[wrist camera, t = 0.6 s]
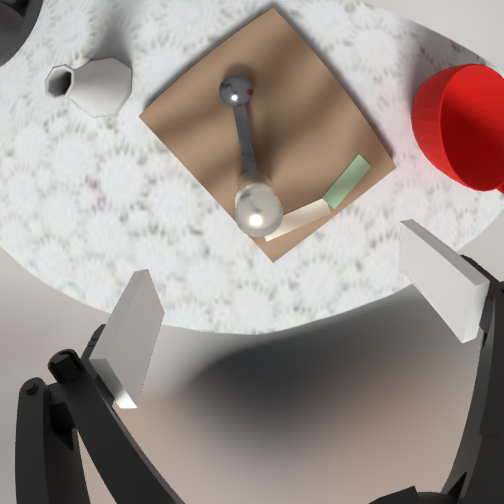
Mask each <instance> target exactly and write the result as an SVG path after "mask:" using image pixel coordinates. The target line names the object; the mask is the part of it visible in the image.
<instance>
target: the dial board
mask: <svg viewBox="0 0 504 504" xmlns="http://www.w3.org/2000/svg"><path fill="white" fill-rule="evenodd" d="M232 75H241V76H244V77H245V78H247V79H248V80H249V81H250V82H251V84H252V87H253V94H252V97H251V99H250V100H249V101H248V102H247V103H246V104H245V107H246V113H247V118H248V124H249V129H250V135H251V140H252V146H253V151H254V157H255V163H256V168H257V171H260V172H262V173H264V174H265V175H267V176H268V178H269V179H270V181H271V183H272V186H273V188H274V190H275V192H276V194H277V196H278V199H279V201H280V203H281V205H282V208H283V220H282V222H281V224H280V226H279V228H278V229H277V230H276V231H275V232H273V233H272V234H270V235H268V236H264V237H253V236H250V235H248V236H249V237H250V238H251V239H252V240H253V241H254V242H255V243H256V244H257V245H258V247H259V248H260V249H261V250H262V251H263V252H264V253H265V254H266V255H267V256H268V258H269V259H270V260H271V261H272V262H273V263H274V262H275V261H276V260H278V259H279V258H280V257H282V256H283V255H284V254H286V253H287V252H288V251H290V250H291V249H292V248H294V247H295V246H296V245H297V244H299V243H300V242H301V241H303V240H304V239H305V238H307V237H308V236H309V235H311V234H312V233H313V232H314V231H316V230H317V229H318V228H320V227H321V226H322V225H324V224H325V223H326V222H327V221H329V220H330V219H331V218H333V217H334V216H335V215H336V214H338V213H339V212H340V211H342V210H343V209H344V208H345V207H347V206H348V205H349V204H351V203H352V202H353V201H354V200H356V199H357V198H358V197H360V196H361V195H362V194H363V193H365V192H366V191H367V190H368V189H370V188H371V187H372V186H374V185H375V184H376V183H377V182H379V181H380V180H381V179H382V178H384V177H385V176H386V175H387V174H389V173H390V172H391V171H392V170H394V169H395V168H396V166H395V164H394V162H393V161H392V159H391V157H390V156H389V154H388V153H387V151H386V149H385V148H384V146H383V145H382V143H381V142H380V140H379V138H378V137H377V135H376V134H375V132H374V131H373V129H372V128H371V126H370V125H369V123H368V122H367V121H366V119H365V118H364V116H363V115H362V113H361V112H360V111H359V109H358V108H357V106H356V105H355V104H354V102H353V101H352V99H351V98H350V97H349V95H348V94H347V93H346V91H345V90H344V89H343V87H342V86H341V85H340V84H339V82H338V81H337V80H336V78H335V77H334V76H333V75H332V73H331V72H330V71H329V70H328V68H327V67H326V66H325V65H324V63H323V62H322V61H321V60H320V59H319V57H318V56H317V55H316V54H315V53H314V51H313V50H312V49H311V48H310V47H309V46H308V45H307V43H306V42H305V41H304V40H303V39H302V38H301V37H300V36H299V34H298V33H297V32H296V31H295V30H294V29H293V28H292V27H291V26H290V25H289V24H288V23H287V21H286V20H285V19H284V18H283V17H282V16H281V15H280V14H279V13H278V12H277V11H276V10H275V9H274V8H272V9H270V10H269V11H267V12H265V13H264V14H262V15H261V16H259V17H258V18H256V19H255V20H254V21H252V22H251V23H249V24H248V25H246V26H245V27H243V28H242V29H241V30H239V31H238V32H236V33H235V34H234V35H232V36H231V37H230V38H228V39H227V40H226V41H224V42H223V43H222V44H220V45H219V46H218V47H216V48H215V49H214V50H213V51H211V52H210V53H209V54H208V55H206V56H205V57H204V58H203V59H201V60H200V61H199V62H198V63H196V64H195V65H194V66H193V67H192V68H191V69H189V70H188V71H187V72H186V73H185V74H183V75H182V76H181V77H180V78H179V79H178V80H177V81H175V82H174V83H173V84H172V85H171V86H170V87H169V88H168V89H167V90H166V91H164V92H163V93H162V94H161V95H160V96H159V97H158V98H157V99H156V100H155V101H154V102H153V103H152V104H151V105H150V106H149V107H148V108H147V109H145V110H144V111H143V112H142V113H141V114H140V115H139V118H140V119H141V120H142V121H143V122H144V123H145V124H146V125H147V126H148V127H149V128H150V129H151V130H152V132H153V133H154V134H155V135H156V136H157V137H158V138H159V139H160V140H161V141H162V142H163V143H164V144H165V145H166V147H167V148H168V149H169V150H170V151H171V152H172V153H173V154H174V155H175V156H176V157H177V158H178V160H179V161H180V162H181V163H182V164H183V165H184V166H185V167H186V168H187V169H188V170H189V171H190V172H191V174H192V175H193V176H194V177H195V178H196V179H197V180H198V181H199V182H200V183H201V184H202V186H203V187H204V188H205V189H206V190H207V191H208V192H209V193H210V194H211V195H212V196H213V197H214V199H215V200H216V201H217V202H218V203H219V204H220V205H221V206H222V207H223V208H224V209H225V211H226V212H227V213H228V214H229V215H230V216H231V217H232V218H233V219H234V220H235V199H236V184H237V181H238V179H239V178H240V176H241V175H242V174H244V173H245V170H244V164H243V159H242V154H241V148H240V143H239V138H238V132H237V127H236V122H235V116H234V111H233V107H232V106H229V105H227V104H226V103H225V102H224V101H223V100H222V99H221V97H220V94H219V88H220V85H221V83H222V81H223V80H224V79H225V78H227V77H229V76H232ZM235 221H236V220H235Z"/></svg>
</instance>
